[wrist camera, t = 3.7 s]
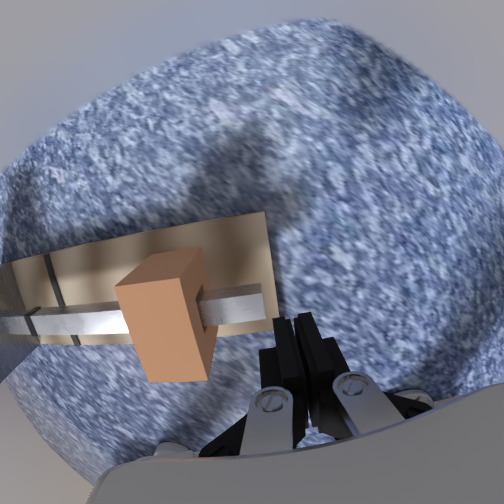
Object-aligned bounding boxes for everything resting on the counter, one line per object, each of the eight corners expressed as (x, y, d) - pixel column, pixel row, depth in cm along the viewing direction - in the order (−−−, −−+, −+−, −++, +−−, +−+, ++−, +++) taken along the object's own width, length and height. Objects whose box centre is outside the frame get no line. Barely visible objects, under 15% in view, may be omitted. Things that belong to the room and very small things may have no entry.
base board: (263, 211, 22) (264, 212, 21) (279, 323, 25) (281, 330, 24) (1, 264, 23) (-5, 266, 22) (28, 339, 26) (23, 343, 25)
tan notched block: (200, 246, 21) (179, 277, 14) (218, 327, 23) (208, 380, 16) (151, 254, 21) (113, 286, 14) (172, 331, 23) (149, 382, 16)
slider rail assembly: (251, 212, 22) (251, 240, 13) (268, 325, 25) (277, 403, 15) (1, 264, 23) (-56, 293, 14) (28, 339, 26) (-17, 381, 16)
